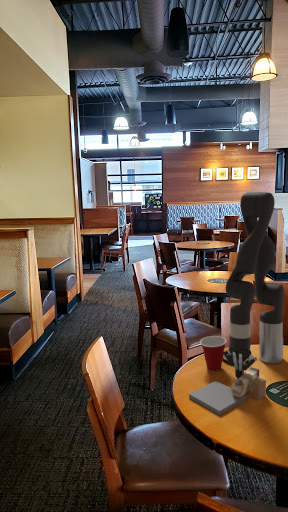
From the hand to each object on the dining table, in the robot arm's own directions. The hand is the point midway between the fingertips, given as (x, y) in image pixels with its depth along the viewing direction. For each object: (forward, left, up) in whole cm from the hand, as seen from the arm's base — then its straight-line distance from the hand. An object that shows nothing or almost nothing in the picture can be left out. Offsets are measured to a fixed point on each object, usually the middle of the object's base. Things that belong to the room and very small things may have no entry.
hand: (239, 378), depth 133 cm
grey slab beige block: (+9, +2, -3) cm, 10 cm away
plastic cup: (-4, -16, -3) cm, 17 cm away
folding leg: (+2, +4, -1) cm, 5 cm away
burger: (-17, -15, -3) cm, 23 cm away
